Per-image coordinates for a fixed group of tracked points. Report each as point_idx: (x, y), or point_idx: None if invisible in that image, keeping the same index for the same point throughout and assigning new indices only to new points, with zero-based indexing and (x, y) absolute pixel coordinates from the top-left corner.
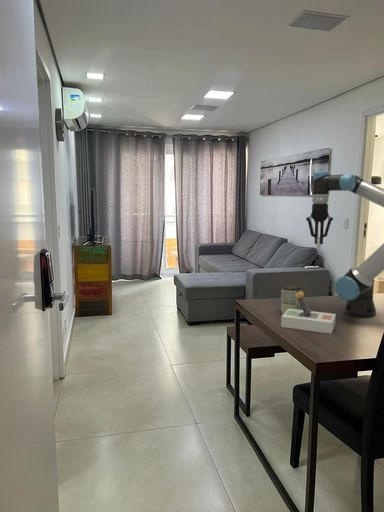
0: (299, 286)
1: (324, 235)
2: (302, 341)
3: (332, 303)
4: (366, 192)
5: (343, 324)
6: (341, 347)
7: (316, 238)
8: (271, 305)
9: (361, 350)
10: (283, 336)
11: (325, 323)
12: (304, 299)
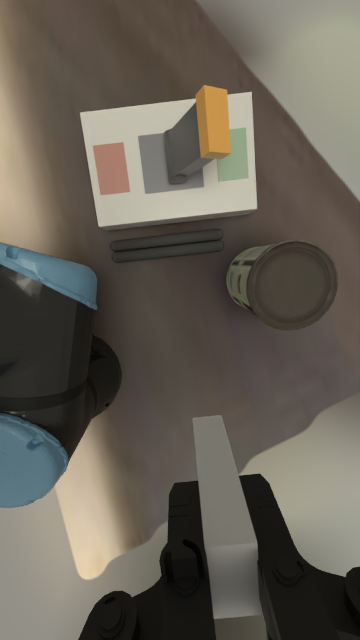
0: (259, 304)
1: (123, 616)
2: (144, 6)
3: (171, 433)
4: None
5: (87, 242)
6: (33, 19)
7: (265, 548)
8: (334, 323)
9: None
10: (209, 20)
11: (101, 112)
12: (191, 140)
